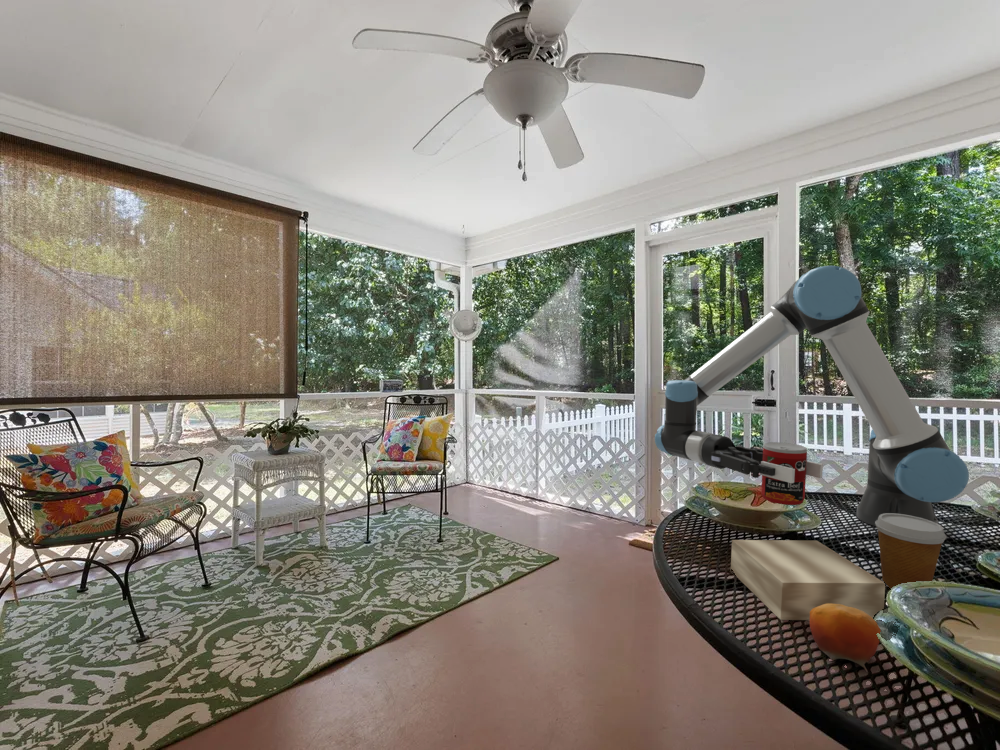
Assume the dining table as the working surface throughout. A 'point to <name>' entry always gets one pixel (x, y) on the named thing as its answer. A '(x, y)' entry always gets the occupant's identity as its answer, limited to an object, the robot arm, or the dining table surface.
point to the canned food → (786, 457)
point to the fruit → (844, 632)
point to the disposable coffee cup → (908, 548)
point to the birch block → (803, 577)
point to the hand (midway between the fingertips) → (807, 473)
